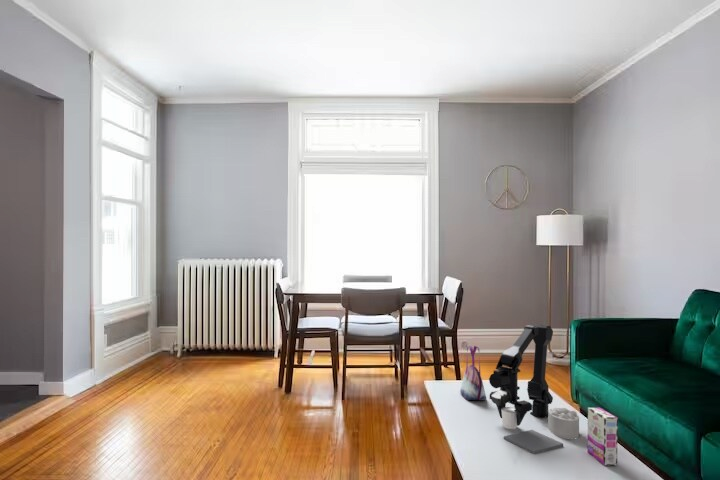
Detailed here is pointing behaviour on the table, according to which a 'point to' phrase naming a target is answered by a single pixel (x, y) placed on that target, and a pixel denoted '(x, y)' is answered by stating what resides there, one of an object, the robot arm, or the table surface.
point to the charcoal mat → (533, 441)
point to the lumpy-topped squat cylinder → (563, 423)
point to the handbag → (472, 380)
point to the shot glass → (509, 418)
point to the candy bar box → (602, 436)
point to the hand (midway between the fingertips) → (509, 421)
